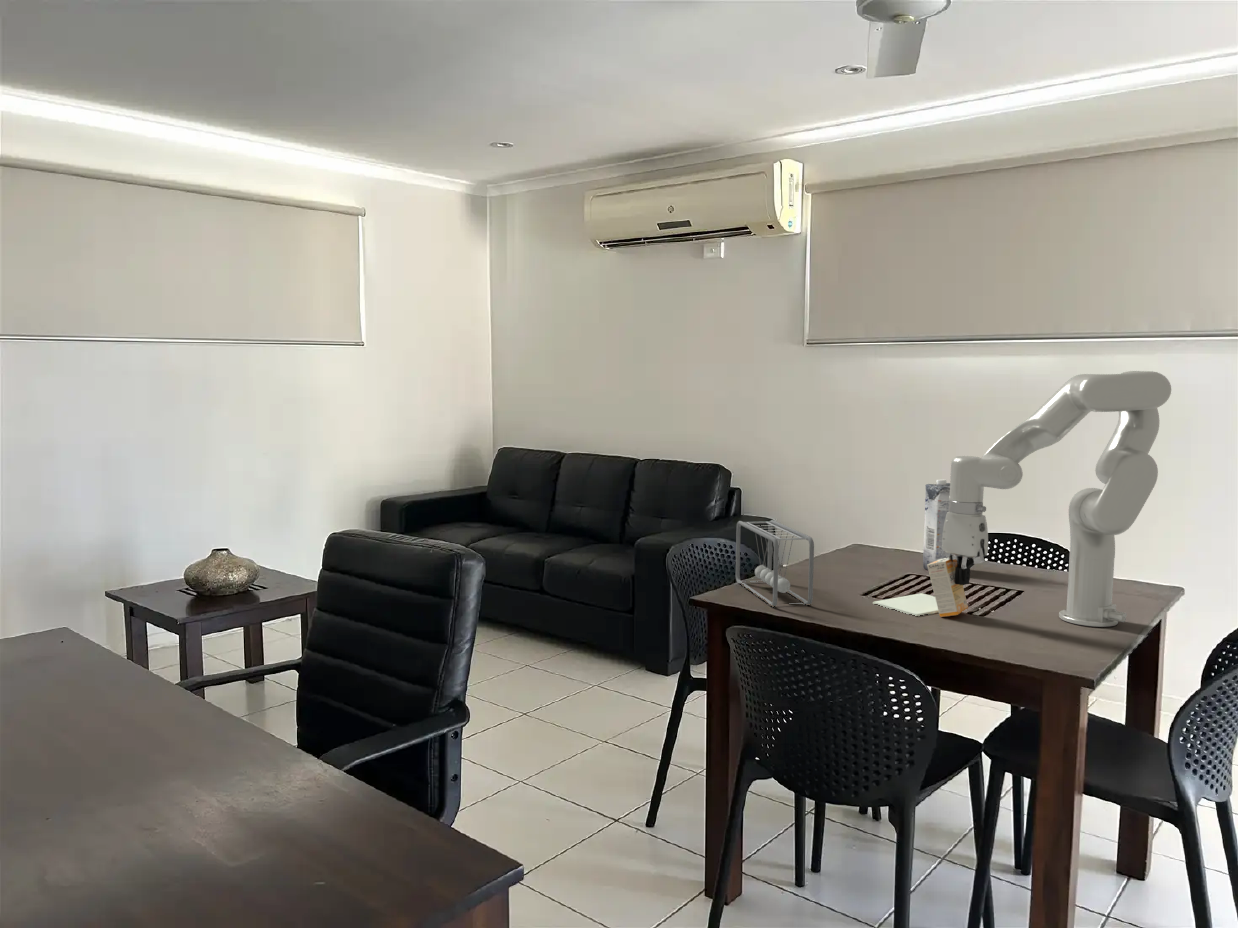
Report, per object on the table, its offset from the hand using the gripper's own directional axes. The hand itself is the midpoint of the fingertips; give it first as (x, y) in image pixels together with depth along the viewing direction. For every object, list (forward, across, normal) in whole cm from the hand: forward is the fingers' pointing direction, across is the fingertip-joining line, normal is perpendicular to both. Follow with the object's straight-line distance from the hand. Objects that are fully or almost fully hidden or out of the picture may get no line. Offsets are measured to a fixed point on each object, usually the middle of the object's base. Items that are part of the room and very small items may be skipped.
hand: (961, 583), depth 222 cm
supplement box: (+8, +2, 0) cm, 8 cm away
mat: (+8, +13, 0) cm, 15 cm away
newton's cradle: (+9, +41, +24) cm, 48 cm away
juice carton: (+8, +37, -40) cm, 55 cm away
